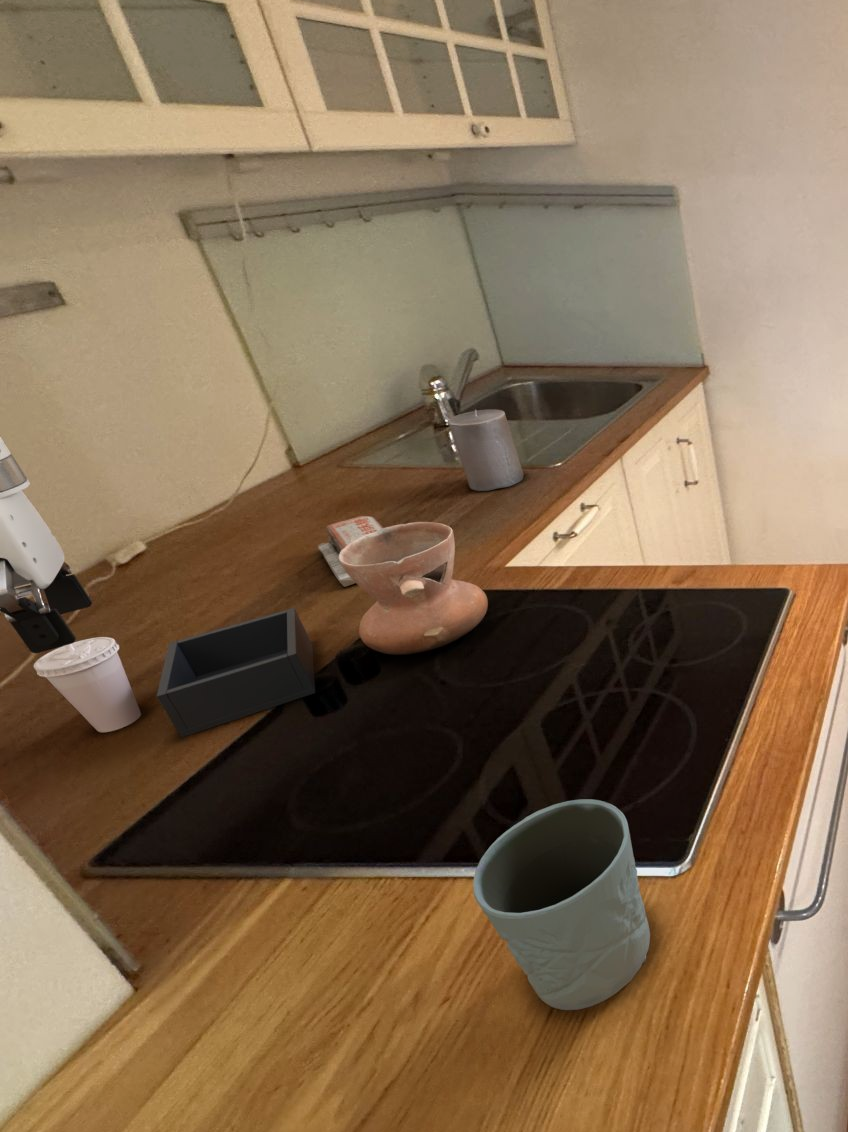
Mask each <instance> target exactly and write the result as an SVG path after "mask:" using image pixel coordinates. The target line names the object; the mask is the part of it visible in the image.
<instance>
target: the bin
mask: <svg viewBox="0 0 848 1132" xmlns="http://www.w3.org/2000/svg"><path fill="white" fill-rule="evenodd" d="M167 647H168V648H167V649H166V650H167V651H166V655H165V659H164V662H163V667H162V672H161V676H160V680H159V684H158V688H157V693H156V698H157V700H158V702H159V703H160V705H161V707H162V708H163V710H164V712H165V713H166V715H167V716H168V718H169V719H170V721H171V723H172V724H173V727H174V728H175V729H176V731H177V733H178V735H179V736H180V738H185V737H188V736H191V735H194V734H197V733H200V732H203V731H206V730H209V729H211V728H214V727H217V726H221V725H224V724H228V723H230V722H233V721H236V720H239V719H243V718H244V717H248V716H251V715H253V714H257V713H260V712H263V711H266V710H268V709H271V708H275V707H277V706H280V705H284V704H286V703H290V702H292V701H296V700H299V699H301V698H305V697H308V696H311V695H313V694H316V681H315V666H314V653H313V652H314V651H313V644H312V641H311V639H310V637H309V635H308V633H307V631H306V629H305V626H304V624H303V623H302V620H301V618H300V617H299V614H298V612H297V610H296V608H295V607H292V608H289V609H285V610H281V611H278V612H273V613H271V614H268V615H264V616H260V617H256V618H253V619H249V620H246V621H242V622H239V623H235V624H232V625H227V626H225V627H221V628H218V629H215V630H210V631H207V632H203V633H199V634H197V635H193V636H189V637H186V638H182V639H179V640H175V641H171V642H168V646H167Z"/></svg>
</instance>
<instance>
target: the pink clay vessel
mask: <svg viewBox="0 0 848 1132" xmlns="http://www.w3.org/2000/svg"><path fill="white" fill-rule="evenodd" d="M386 527H387V528H386ZM386 527H383V529H381V530H379V531H376V532H373V533H370V534H366V535H364V536H362V537H360V538H358V539H357V540H355V541H353V542H351V543H350V544H348V545H347V546H346V547H345V548H344V549H342V550H341V552H340V553H339V561H340V563H341V565H342V567H343V568H344V570H345V571H346V572H347V574H348V575H349V576H350V577H351V578H352V579H353V580H354V581H355V583H354V584H356V585H357V586H358V587H359V588H360V589H361V590H363V591H364V592H365V593H366V594H367V595H369V596H370V597H371V598H372V599H374V600H375V603H374V604H373V605H371V607H369V609H368V610H367V611H366V612H365V613H364V614H363V616H362V618H361V620H360V622H359V627H358V635H359V637H360V639H361V641H362V643H363V644H364V645H365V646H367V647H368V648H370V649H371V650H373V651H376V652H379V653H382V654H386V655H394V656H402V655H403V656H404V655H413V654H419V653H425V652H429V651H432V650H436V649H439V648H442V647H444V646H447V645H448V644H451V643H453V642H455V641H457V640H459V639H461V638H462V637H464V636H465V635H467V634H468V633H470V632H471V631H472V630H474V629H475V628H476V627H478V625H479V624H480V623H481V621H482V620H483V619H484V618H485V615H486V614H487V611H488V606H489V602H488V601H489V599H488V597H487V594H486V593H485V591H484V590H483V589H481V588H480V586H478V585H476V584H474V583H471V582H468V581H463V580H457V579H453V574H454V566H455V554H456V553H455V552H456V549H455V548H456V546H455V545H456V544H455V543H456V542H455V535H454V530H453V529H452V528H451V527H450V526H449V525H446V524H444V523H439V522H431V521H415V522H408V523H405V524H404V523H400V524H396V525H391V526H386Z"/></svg>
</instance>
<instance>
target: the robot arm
mask: <svg viewBox="0 0 848 1132" xmlns="http://www.w3.org/2000/svg"><path fill="white" fill-rule="evenodd" d="M30 486H31V482H30V481H29V479H28V477H27V476H26V475H25V472H24V471H23V470H22V468H21V466H20V465H19V464H18V462H17V460H16V459H15V458H14V455H13V454H12V453H11V451H10V450H9V447H8V446H7V445H6V443H5V442H4V440H3V438H2V437H1V436H0V613H3V614H4V617H5V619H6V621H7V622H8V623H10V624H11V626H12V628H13V629H14V630H15V632H16V633H17V634H18V636H19V638H20V639H21V640H22V642H23V643H24V644H25V646H26V647H27V649H28V650H29V651H30V652H31V653H32V654H39V653H44V652H46V651H52V650H55V649H58V648H60V647H63V646H65V645H69V644H72V643H74V642H76V636H75V634H74V632H73V631H72V629H71V628H70V627H69V625H68V624H67V622H66V621H65V619H64V617H63V616H62V615H64V614H68V613H72V612H75V611H79V610H83V609H87V608H90V607H91V606H92V605H93V600H92V599H91V598H90V596H89V595H88V593H87V591H86V590H85V589H84V587H83V585H82V583H81V582H80V581H79V578H77V576H76V575H75V573H73V571H72V568H71V567H70V566H69V564H68V563H66V561H65V558H66V557H65V553H64V551H63V549H62V547H61V545H60V544H59V541H58V539H57V538H56V536H55V534H53V532H52V530H51V529H50V527H49V526H48V524H47V522H46V521H45V520H44V519H43V517H42V516H41V514H40V513H39V512H38V510H37V509H36V508H35V505H33V503H32V502H31V501H30V498H29V497H28V496H26V494H25V492H24V490H26V489H27V488H29V487H30ZM72 573H73V574H72ZM31 595H32V597H33V600H31V599H30V598H28V597H27V596H31Z"/></svg>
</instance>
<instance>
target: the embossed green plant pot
mask: <svg viewBox="0 0 848 1132" xmlns="http://www.w3.org/2000/svg"><path fill="white" fill-rule="evenodd" d="M631 839H632V838H631V833H630V828H629V823H628V820H627V818H626V816H625V814H624V813H623V811H621V810H620V809H619V808H618V807H617V806H615V805H613V804H612V803H609V802H607V801H604V800H603V801H602V800H599V799H588V798H587V799H584V798H583V799H581V798H579V799H574V800H573V799H572V800H567V801H563V802H559V803H555V804H552V805H549V806H547V807H545V808H542V809H539V810H537V811H535V812H533V813H531V814H530V815H528V816H526V817H525V818H523V819H522V820H521V821H518V822H517V823H515V824H514V825H513V826H511V827H510V828H508V829H507V830H506V831H505V832H503V833H502V834H501V835H500V836H499V837H497V838H496V840H495V841H494V842H493V843H492V844H491V845H490V846H489V847H488V849H487V850H486V851H485V853H484V854H483V855H482V857H480V860H479V862H478V864H477V867H476V868H475V872H474V875H473V880H472V881H473V882H472V887H473V888H472V889H473V890H472V891H473V896H474V899H475V901H476V903H477V905H478V907H479V908H480V909H481V910H482V912H483V913H484V915H485V916H486V918H487V919H488V920H489V922H490V924H491V925H492V927H493V928H494V929H495V931H496V933H497V934H498V935H499V937H500V939H501V940H502V941H505V942H507V944H506V947H507V950H508V951H509V952H510V953H511V955H512V957H513V958H514V960H515V961H516V962H517V965H518V966H519V968H520V969H521V970H522V971H523V974H524V975H526V976H527V981H528V982H529V984H530V986H531V987H532V989H533V991H534V992H535V993H536V994H537V996H538V998H539V999H540V1000H541V1001H543V1002H544V1004H546V1005H548V1006H550V1007H551V1008H554V1009H558V1010H560V1011H577V1010H582V1009H588V1008H590V1007H594V1006H596V1005H598V1004H600V1003H602V1002H604V1001H606V1000H608V999H610V998H611V997H613V996H614V995H616V994H617V993H619V992H620V991H621V990H622V989H623V988H625V987H626V986H627V985H628V984H629V983H630V982H632V980H633V978H634V977H635V976H636V975H637V973H638V972H639V971H640V969H641V968H642V965H643V964H644V963H645V962H646V960H647V953H648V952H649V950H650V949H649V947H650V944H651V943H650V942H651V932H650V931H651V929H650V925H649V921H648V918H647V915H646V910H645V904H644V901H643V897H642V894H641V891H640V884H639V880H638V879H639V877H638V870H637V867H636V860H635V857H634V852H633V851H634V850H633V846H632V840H631Z"/></svg>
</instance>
